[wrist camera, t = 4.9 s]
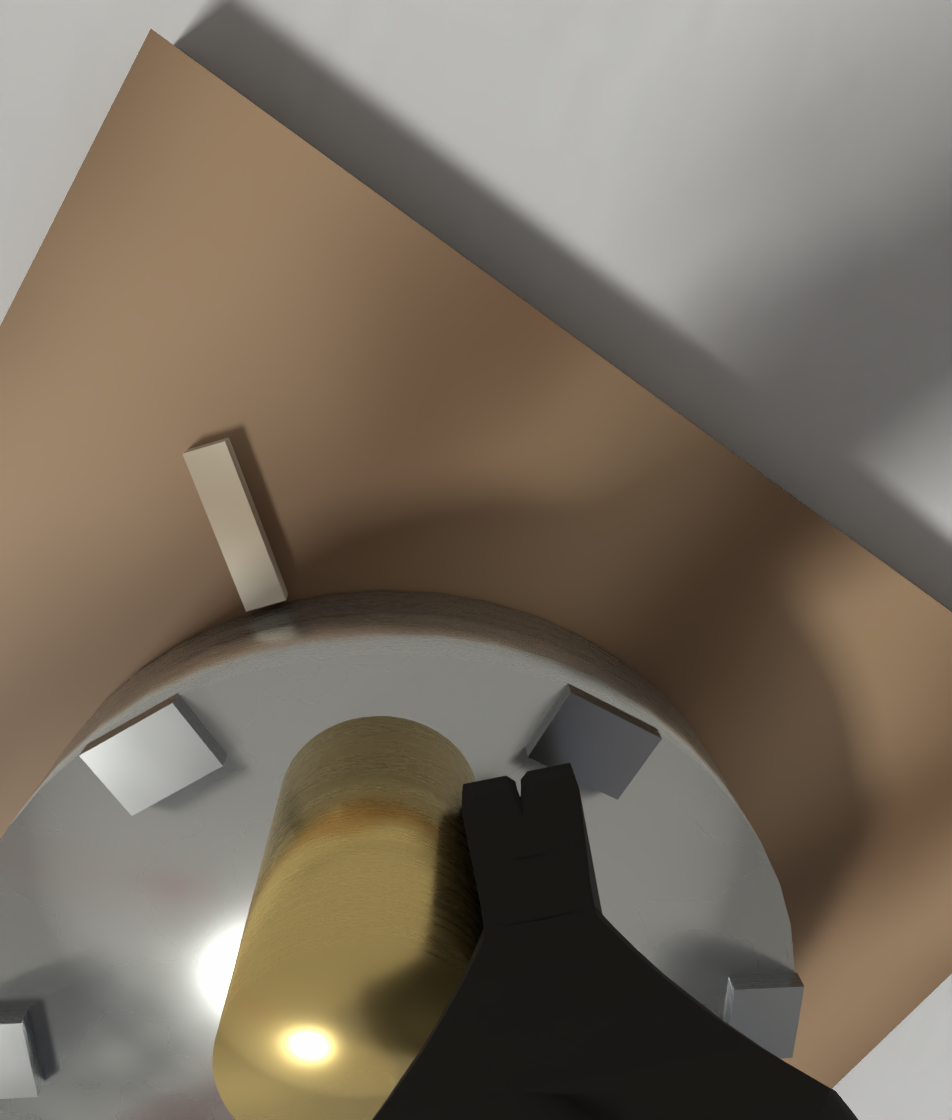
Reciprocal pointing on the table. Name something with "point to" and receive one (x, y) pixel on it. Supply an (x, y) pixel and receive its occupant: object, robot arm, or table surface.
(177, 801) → the round metal turntable
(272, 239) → the base plate
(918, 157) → the table surface
